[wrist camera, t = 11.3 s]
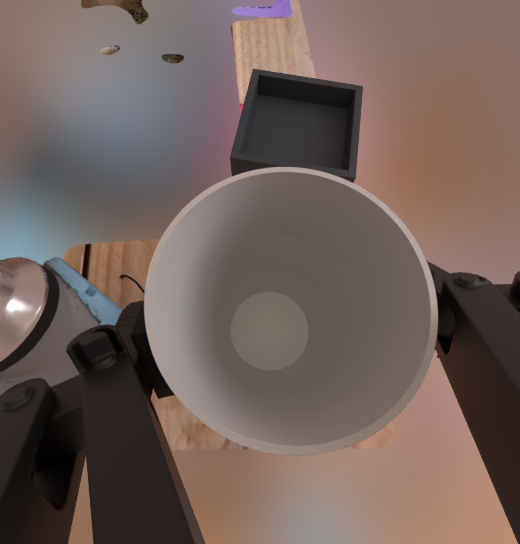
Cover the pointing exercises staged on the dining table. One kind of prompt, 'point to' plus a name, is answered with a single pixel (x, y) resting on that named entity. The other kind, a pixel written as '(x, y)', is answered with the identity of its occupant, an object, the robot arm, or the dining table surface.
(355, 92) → the tray
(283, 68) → the dining table surface
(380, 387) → the cup
